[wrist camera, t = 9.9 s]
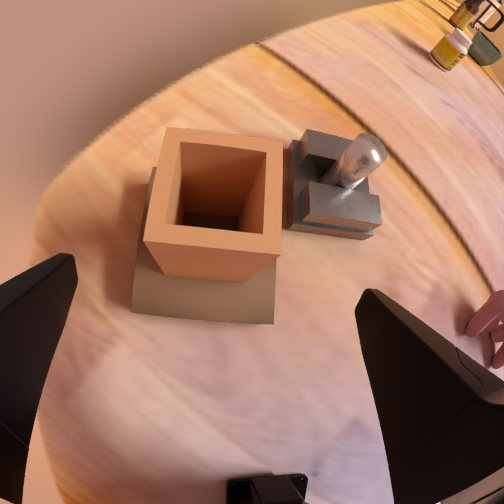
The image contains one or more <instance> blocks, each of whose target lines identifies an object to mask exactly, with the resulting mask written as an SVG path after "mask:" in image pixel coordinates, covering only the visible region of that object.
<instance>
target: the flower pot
mask: <svg viewBox="0 0 504 504" xmlns="http://www.w3.org/2000/svg"><path fill="white" fill-rule="evenodd" d="M469 53H470V55H471V56H472V57H473V58H474V59H475V60H476V61H477V62H478V63H479V64H480V65H481V66H487V65H491V64H493V63H495V62H496V61H498V60H499V59H501V58H502V55H501V53H500V50H499V49H498V48H497V47H496V46H495V45H494V44H493V43H492V42H491V41H490V40H489V39H488V37H487V36H486V35H484V33H483V32H481V31H480V30H478V32H477V33H476V35H475V36H474V37H473V39H472V44H471V45H470V48H469Z"/></svg>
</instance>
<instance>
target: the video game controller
mask: <svg viewBox="0 0 504 504" xmlns="http://www.w3.org/2000/svg"><path fill="white" fill-rule="evenodd" d="M499 321H501V322H502V323H503V324H500V325H498V323H499ZM484 329H485V330H491V329H492V330H491V338H492V341H493V342H496V343H497V342H502V341H504V290H500V291H497V292H495V293H493V294H492V295H491V296H490V297H489V299H488V301H487V302H486V303H485V304H484V305H483V306H482V307H481V308H480V309H479V310H478V311H477V312H476V314H475V315H474V316H473V317H472V319H471V320H470V322H469V324H468V325H467V329H466V334H467V336H469V337H473V336H476V335H477V334H479V333H481V332H482V331H483V330H484ZM491 365H492V368H494V369H498V368H500V367H502V366H504V342H503V344H502V345H501V347H500V348H499V350H498V351H497V352H496V354H495V356H494V358H493V360H492V363H491Z"/></svg>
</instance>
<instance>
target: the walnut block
mask: <svg viewBox="0 0 504 504" xmlns="http://www.w3.org/2000/svg"><path fill="white" fill-rule="evenodd" d="M156 170H157V167H153V169H152V173H151V178H150V183H149V187H148V192H147V197H146V202H145V208H144V213H143V219H142V224H141V230H140V237H139V243H138V250H137V257H136V265H135V273H134V281H133V291H132V301H131V312H133V313H140V314H148V315H157V316H166V317H176V318H186V319H197V320H209V321H223V322H238V323H256V324H274V303H275V279H276V259H275V260H273V261H272V262H271V263H270V264H268V265H267V266H266V267H265V268H263V269H262V270H261V271H259V272H258V273H257V274H256V275H254V276H253V277H252V278H250V279H249V280H248V281H247V282H245V283H239V282H228V281H217V280H206V279H196V278H186V277H176V276H166V275H165V274H164V273H163V271H162V270H161V268H160V267H159V265H158V263H157V262H156V260H155V259H154V257H153V256H152V254H151V253H150V251H149V249H148V248H147V246H146V245H145V243H144V241H143V238H144V231H145V225H146V220H147V214H148V209H149V203H150V198H151V193H152V188H153V183H154V179H155V174H156ZM182 226H191V227H201V228H211V229H220V230H229V231H237V228H238V217H230V216H221V215H212V214H203V213H193V212H184V217H183V224H182Z"/></svg>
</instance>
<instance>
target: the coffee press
mask: <svg viewBox="0 0 504 504" xmlns="http://www.w3.org/2000/svg"><path fill="white" fill-rule="evenodd" d="M500 5H502V0H485V1H484V2H482V3H481V5H480V6H479V12H478V13H477V14H476V16H475V17H474V18H473V19H472V21H471V22H470V23H471V25H470V26H471V27H472V28H474V26H475V27H476V29H477V28H478V30H479V28H480V27H481V26H483V27H484V28H485V29H486V30H487V31H489V32H494V31H495V30H496V29H497V28H498V27H499V26H500V25H501V24H502V23H503V22H504V15H503V13H502V12H501V11H500V10H499V9H498V7H499V6H500ZM495 10H497V11H498V12H499V13H500V15H501V19H500V20H499V21H498V22H497V24H496V25H495V26H494V27H493V28H491V29H489V28H487V27H486V26H485V25H484V22H485V21H486V20H487V19H488V18H489V17H490V16H491V15H492V14H493V13H494V11H495ZM478 30H477V31H478Z"/></svg>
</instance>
